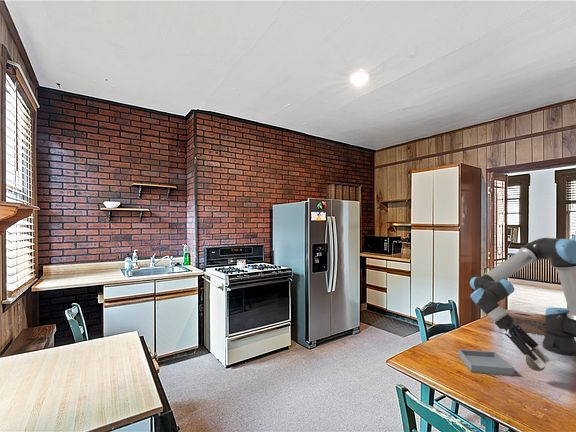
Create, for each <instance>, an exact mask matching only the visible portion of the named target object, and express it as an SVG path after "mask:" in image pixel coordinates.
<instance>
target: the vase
mask: <svg viewBox="0 0 576 432" xmlns="http://www.w3.org/2000/svg"><path fill="white" fill-rule="evenodd" d="M530 350H531V351H533V352H534V353H535V354H536V355H537V356H538V357H539V358H540V359H541V360H542V361H543V362H544V363H545V364H546V365H547V362H545V359H544V357H543V356H542V354H541V353H540V352H539V350H538V349H534V348H531V349H530ZM525 363H526V365H527V367H528V368H529V369H530V370H533V371H535V372H543V371H544V370H545V368H546V366H545V367H543V368H540V367H539V366H538V365H537V364H536V363H535V362H534V361H533V360H532V359H531V358H530V357H529V356H528V355H525Z"/></svg>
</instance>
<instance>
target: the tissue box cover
mask: <svg viewBox="0 0 576 432" xmlns="http://www.w3.org/2000/svg"><path fill="white" fill-rule="evenodd" d="M503 309H504V310H505V311H506V314H508V315H510V316H511V317H512V318H513V319H514V322H512V323H513V324H514V325H515V326H517V325H519V326H520V327H521V328H522V329H523V330H524V331H525V332H526V333H527V334H530V333H531V335H536V334H537V336H542V335H544V336H543V337H545V335H546V316H545V314H543V313H542V314H540V313H534V312H526V311H519V310H512V309H505V308H503ZM502 330H505V329H504V328H503V329H502Z"/></svg>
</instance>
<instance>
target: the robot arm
mask: <svg viewBox="0 0 576 432" xmlns="http://www.w3.org/2000/svg"><path fill="white" fill-rule="evenodd" d="M539 260H549V261H550V264H551V266H552V268H554V269H556V271H557V275H558V278H559V281H560V284H561V287H562V292H563V293H564V294H563V295H564V298H565V301H566V304H567V305H566V306H567V308H566V307H547V308H546V309H545V314H544V315H545V316H546V335H545V336H544V338H543V341H542V348H544V349H545V350H547V351H548V352H551V353H554V354H555V353H556V354H559V355H563V356H570V357H571V356H572V357H573V356H574V357H575V356H576V239H569V238H557V237H556V238H553V237H540V238H538V239H534V240H533V241H530V242H529V243H526V244H525V245H523V246H522V247H520V248H519V249H518V251H517V253H515V254H513V255H512V256H511V257H509V258H507V259H505V260H504V261H502V262H501V263H500V264H498V265H497V266H495V267H493V268H492V269H490V270H489V271H488V272H486V273H485V274H483V275H481V276H473V277H471V279H470V281H469V286H470V288H471V289H473V290H474V291H473V292H472V293H470V296H469V298H470V299H471V300H472V302H473V303H475V305H476V306H478V308H480V309H481V310H482V312H483V313H484V314H485V315H487V318H488V319H490V320H491V321H492V322H494V324H495V326H496V327H498V329H500V330H504V331H505V334H504V335H505V336H506V337H507V338H509V340H510V341H511V342H512V343H513V344H514V346H516V348H517V349H518V350H519V351H520V352H521V353H522V354H523V355H524V356H526V355H528V356H529V357H530V358H531V359H532V360H533V361H534V362H535V363H536V364H537V365H538V366H539V367H540V368H543V367H545V368H546V367H547V366H548V365H547V363H548V362H550V361H551V359H550V357H548V356H547V354H545V353H544V351H543V350H542V349H540V348H539V347H538V346H539V344H538V342H537V341H535V340H534V339H533V338H532V337H531V336H530V335H529V333H526V332H525V331H524V330H523V329H522V328H521V327H520V326H519V325H517V326H515V325H514V324H513V323H512V322H514V319H513V318H512V317H511V316H510V315H508V314H506V311H505V310H504V309H505V308H503V307H502V306H501V305H499V303H500V302H501V301H502V300H504V299H507V297H509V296H510V295H511V294H512V293H514V292H515V286H514V285H513V283H512V282H510V281H509V280H508V278H510V277H511V276H513V275H514V274H515V273H517V272H519V271H520V270H521V269H523V268H524V267H526V266H528V265H529V264H533V263H536V262H537V261H539ZM503 328H504V329H503ZM530 348H531V349H532V348H534V349H538V350H539V352H540V353H541V354H542V356H543V357H544V359H545V362H546V364H545V363H544V362H543V361H542V360H541V359H540V358H539V357H538V356H537V355H536V354H535V353H534V352H533V351H531V349H530Z"/></svg>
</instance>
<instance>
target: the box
mask: <svg viewBox="0 0 576 432" xmlns="http://www.w3.org/2000/svg"><path fill="white" fill-rule="evenodd" d="M457 356H458V357H459V359H460V360H461V361H462V362H463V364H464V365H465V366H466V368H467V369H468V370H469V371H470V373H473V374H474V373H475V374H485V375H496V376H497V375H499V376H507V377H508V376H512V377H515V368H514V367H513V366H512V365H511V364H509V363H508V362H507V361H506V360H505V359H504V358H503V357H502V356H500V354H498V353H497V352H496V351H491V350H490V351H489V350H487V351H486V350H476V349H475V350H473V349H460V348H459V349H457Z"/></svg>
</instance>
